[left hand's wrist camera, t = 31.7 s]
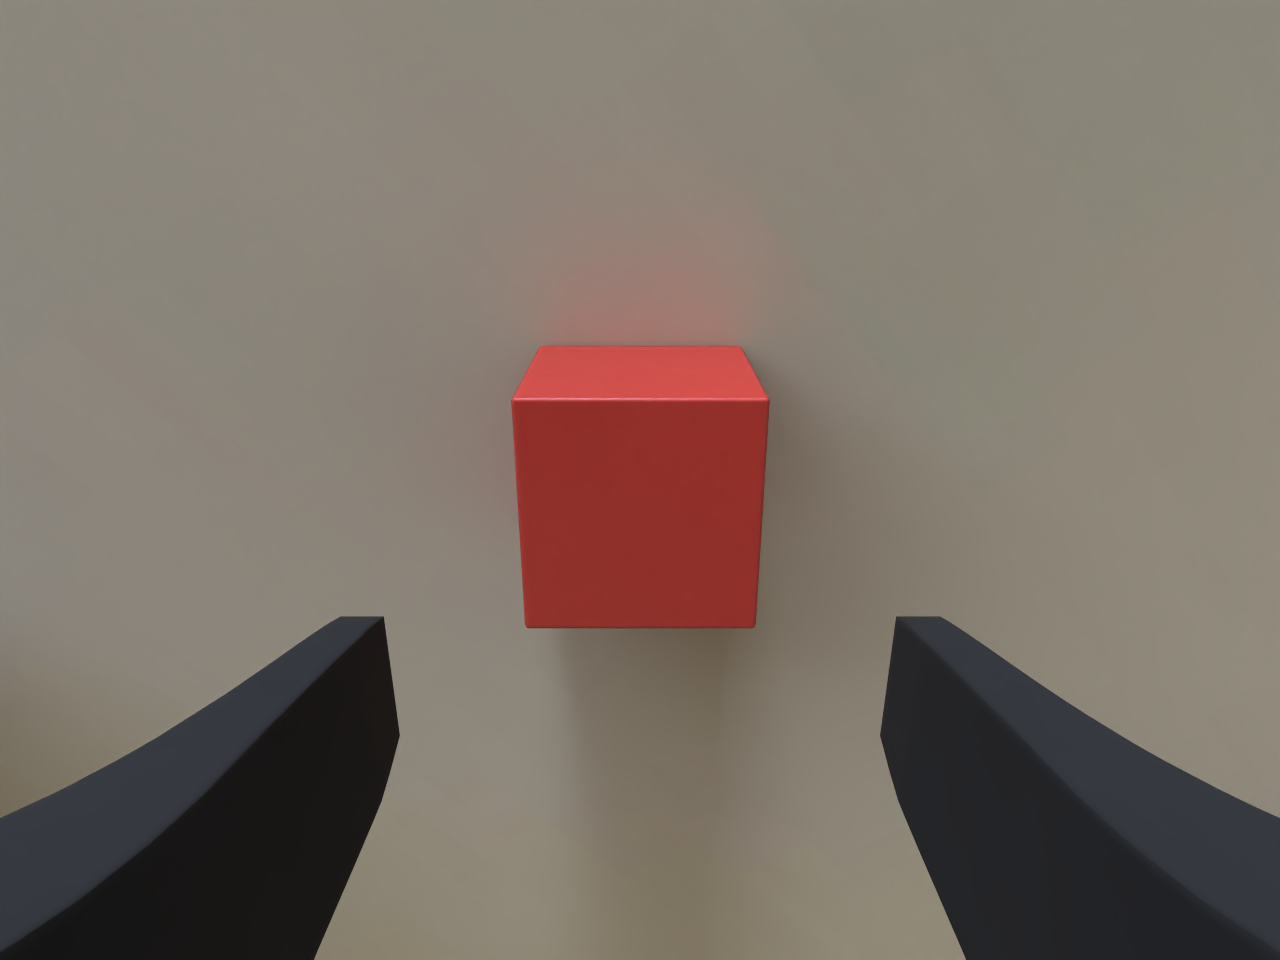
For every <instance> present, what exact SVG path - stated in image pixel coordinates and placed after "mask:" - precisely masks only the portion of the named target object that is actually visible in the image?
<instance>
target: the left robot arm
mask: <svg viewBox="0 0 1280 960" xmlns="http://www.w3.org/2000/svg"><path fill="white" fill-rule="evenodd" d="M399 736H400V734H399V726H398V719H397V711H396V704H395V697H394V689H393V682H392V675H391V667H390V660H389V652H388V645H387V638H386V630H385V623H384V617H339V618H337V619H335V620H334V621H332V622H330V623H329V624H327V625H326V626H324V627H322V628H321V629H319V630H318V631H316V632H315V633H313V634H312V635H311V636H309V637H308V638H306V639H305V640H303V641H302V642H300V643H299V644H298V645H296V646H295V647H293V648H292V649H290V650H289V651H288V652H286V653H285V654H283V655H282V656H280V657H279V658H278V659H276V660H275V661H273V662H272V663H270V664H269V665H267V666H266V667H265V668H263V669H262V670H260V671H259V672H257V673H256V674H254V675H253V676H251V677H250V678H249V679H247V680H246V681H244V682H243V683H241V684H240V685H238V686H237V687H236V688H234V689H233V690H231V691H230V692H228V693H227V694H225V695H224V696H222V697H220V698H219V699H217V700H216V701H214V702H213V703H211V704H209V705H208V706H206V707H205V708H203V709H201V710H200V711H198V712H197V713H195V714H194V715H192V716H190V717H189V718H187V719H186V720H184V721H183V722H181V723H179V724H178V725H176V726H175V727H173V728H171V729H170V730H168V731H167V732H165V733H164V734H162V735H160V736H159V737H157V738H155V739H154V740H152V741H150V742H149V743H147V744H145V745H144V746H142V747H140V748H138V749H137V750H135V751H133V752H131V753H129V754H128V755H126V756H124V757H122V758H121V759H119V760H117V761H115V762H113V763H111V764H110V765H108V766H106V767H104V768H102V769H100V770H98V771H96V772H94V773H93V774H91V775H89V776H87V777H85V778H83V779H81V780H79V781H77V782H76V783H74V784H72V785H70V786H68V787H66V788H64V789H62V790H60V791H58V792H56V793H54V794H52V795H49V796H47V797H45V798H43V799H41V800H39V801H36V802H34V803H32V804H30V805H28V806H26V807H23V808H21V809H19V810H17V811H15V812H13V813H10V814H8V815H6V816H4V817H2V818H0V960H314V958H315V955H316V953H317V951H318V948H319V946H320V944H321V941H322V939H323V937H324V935H325V932H326V930H327V928H328V925H329V923H330V921H331V918H332V916H333V914H334V911H335V909H336V907H337V904H338V902H339V900H340V898H341V895H342V893H343V891H344V888H345V886H346V884H347V881H348V879H349V877H350V874H351V872H352V870H353V867H354V865H355V863H356V861H357V858H358V856H359V854H360V851H361V849H362V847H363V844H364V842H365V839H366V837H367V835H368V832H369V830H370V828H371V825H372V823H373V821H374V818H375V816H376V813H377V811H378V808H379V806H380V803H381V801H382V798H383V794H384V791H385V788H386V784H387V781H388V777H389V774H390V770H391V767H392V763H393V759H394V755H395V752H396V748H397V744H398V740H399ZM880 736H881V740H882V744H883V748H884V752H885V755H886V759H887V763H888V767H889V770H890V774H891V777H892V781H893V784H894V788H895V791H896V794H897V798H898V801H899V803H900V806H901V808H902V811H903V813H904V816H905V818H906V821H907V823H908V825H909V828H910V830H911V832H912V835H913V837H914V839H915V842H916V844H917V847H918V849H919V851H920V854H921V856H922V858H923V861H924V863H925V865H926V867H927V870H928V872H929V874H930V877H931V879H932V881H933V884H934V886H935V888H936V891H937V893H938V895H939V898H940V900H941V902H942V904H943V907H944V909H945V911H946V914H947V916H948V918H949V921H950V923H951V925H952V928H953V930H954V932H955V935H956V937H957V939H958V941H959V944H960V946H961V948H962V951H963V953H964V955H965V958H966V960H1280V818H1278V817H1276V816H1274V815H1272V814H1269V813H1267V812H1265V811H1263V810H1260V809H1258V808H1256V807H1254V806H1252V805H1250V804H1248V803H1246V802H1244V801H1242V800H1239V799H1237V798H1235V797H1233V796H1231V795H1229V794H1227V793H1225V792H1223V791H1221V790H1219V789H1217V788H1215V787H1213V786H1211V785H1209V784H1208V783H1206V782H1204V781H1202V780H1200V779H1198V778H1196V777H1194V776H1192V775H1190V774H1188V773H1187V772H1185V771H1183V770H1181V769H1179V768H1177V767H1175V766H1173V765H1171V764H1169V763H1167V762H1166V761H1164V760H1162V759H1160V758H1158V757H1157V756H1155V755H1153V754H1151V753H1149V752H1148V751H1146V750H1144V749H1142V748H1141V747H1139V746H1137V745H1135V744H1134V743H1132V742H1130V741H1129V740H1127V739H1125V738H1124V737H1122V736H1120V735H1119V734H1117V733H1116V732H1114V731H1112V730H1111V729H1109V728H1107V727H1106V726H1104V725H1102V724H1101V723H1099V722H1098V721H1096V720H1094V719H1093V718H1091V717H1089V716H1088V715H1086V714H1085V713H1083V712H1082V711H1080V710H1078V709H1077V708H1075V707H1074V706H1072V705H1071V704H1069V703H1068V702H1066V701H1064V700H1063V699H1061V698H1060V697H1058V696H1057V695H1055V694H1054V693H1052V692H1051V691H1049V690H1048V689H1046V688H1045V687H1044V686H1042V685H1041V684H1039V683H1038V682H1036V681H1035V680H1033V679H1032V678H1030V677H1029V676H1027V675H1026V674H1024V673H1023V672H1022V671H1020V670H1019V669H1017V668H1016V667H1014V666H1013V665H1012V664H1010V663H1009V662H1007V661H1006V660H1004V659H1003V658H1002V657H1000V656H999V655H997V654H996V653H994V652H993V651H992V650H990V649H989V648H987V647H986V646H984V645H983V644H981V643H980V642H979V641H977V640H976V639H974V638H973V637H971V636H970V635H968V634H967V633H965V632H964V631H962V630H961V629H959V628H958V627H956V626H955V625H953V624H952V623H950V622H948V621H947V620H945V619H943V618H942V617H896V623H895V630H894V638H893V645H892V652H891V660H890V667H889V675H888V682H887V689H886V697H885V704H884V711H883V719H882V726H881V734H880Z"/></svg>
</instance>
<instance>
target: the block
mask: <svg viewBox="0 0 1280 960" xmlns="http://www.w3.org/2000/svg"><path fill="white" fill-rule="evenodd" d="M511 402H512V418H513V434H514V451H515V467H516V483H517V500H518V516H519V533H520V549H521V565H522V582H523V598H524V614H525V625H526V627H527V628H754V627H755V625H756V611H757V595H758V578H759V562H760V546H761V530H762V513H763V497H764V481H765V465H766V448H767V432H768V416H769V399H768V397H767V395H766V393H765V391H764V389H763V387H762V385H761V383H760V382H759V380H758V378H757V376H756V374H755V372H754V370H753V368H752V366H751V365H750V363H749V361H748V359H747V357H746V355H745V353H744V351H743V349H742V348H741V347H739V346H542V347H539V349H538V351H537V353H536V355H535V357H534V359H533V360H532V362H531V364H530V366H529V368H528V370H527V372H526V374H525V376H524V377H523V379H522V381H521V383H520V385H519V387H518V389H517V391H516V393H515V395H514V396H513V398H512V401H511Z"/></svg>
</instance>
